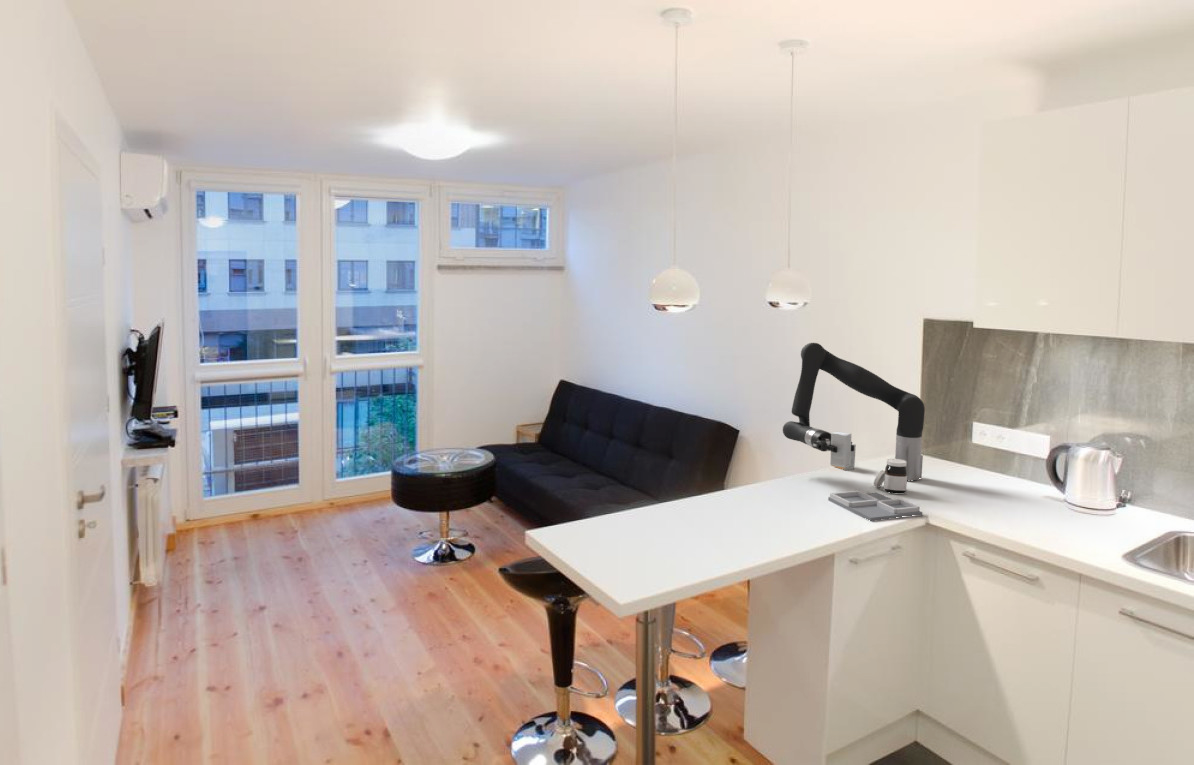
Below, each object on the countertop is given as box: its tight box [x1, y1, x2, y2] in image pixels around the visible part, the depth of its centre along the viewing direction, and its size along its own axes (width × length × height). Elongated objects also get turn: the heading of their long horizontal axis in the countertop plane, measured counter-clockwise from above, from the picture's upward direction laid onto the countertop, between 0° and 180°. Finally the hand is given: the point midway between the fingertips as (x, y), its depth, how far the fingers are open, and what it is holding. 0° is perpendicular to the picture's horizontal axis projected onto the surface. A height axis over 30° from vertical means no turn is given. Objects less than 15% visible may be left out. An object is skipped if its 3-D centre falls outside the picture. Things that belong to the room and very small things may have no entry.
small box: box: [830, 443, 856, 471], centre depth 307 cm, size 8×6×10 cm
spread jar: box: [873, 458, 908, 494], centre depth 274 cm, size 12×11×12 cm
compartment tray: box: [827, 490, 923, 522], centre depth 254 cm, size 20×24×3 cm
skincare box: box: [829, 431, 852, 468], centre depth 268 cm, size 6×4×12 cm
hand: (844, 449), depth 265 cm, fingers closed on skincare box, 6 cm apart
